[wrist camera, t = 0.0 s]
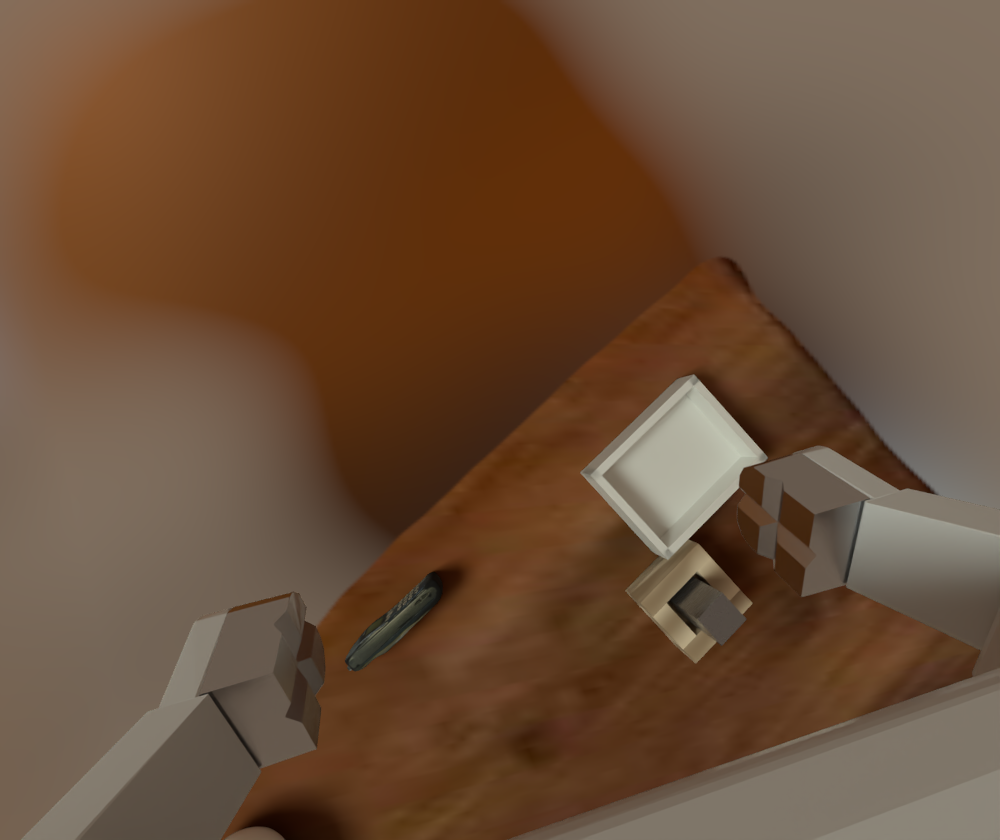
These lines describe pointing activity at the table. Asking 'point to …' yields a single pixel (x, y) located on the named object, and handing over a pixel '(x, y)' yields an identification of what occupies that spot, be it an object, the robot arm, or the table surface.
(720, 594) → the pin
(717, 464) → the grey tray
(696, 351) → the table surface
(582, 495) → the table surface
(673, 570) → the socket block
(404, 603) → the mobile phone
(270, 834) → the lidded jar
